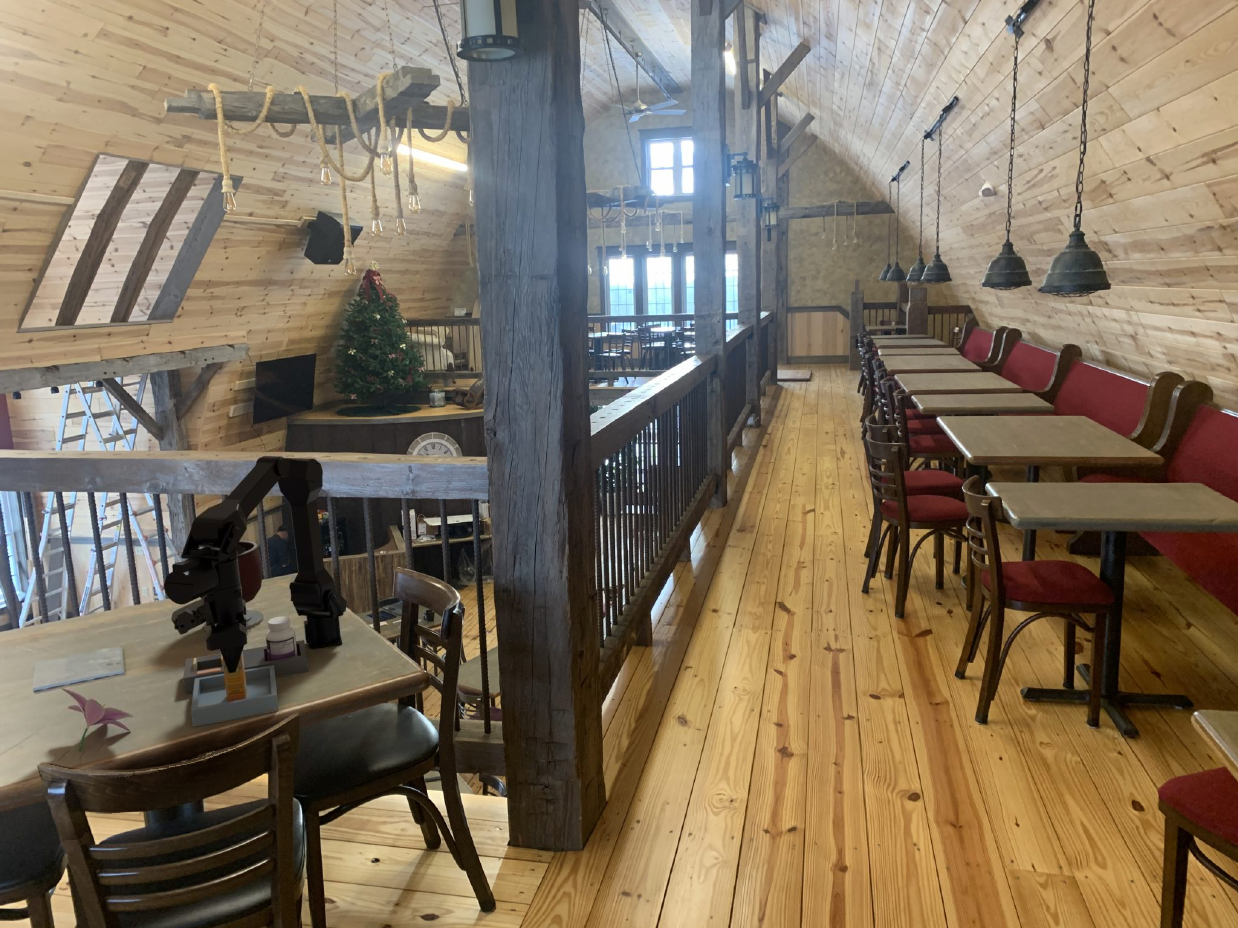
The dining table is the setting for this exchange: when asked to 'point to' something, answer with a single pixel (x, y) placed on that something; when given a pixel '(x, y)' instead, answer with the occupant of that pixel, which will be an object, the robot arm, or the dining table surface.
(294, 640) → the pill bottle
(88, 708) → the lily
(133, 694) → the dining table surface
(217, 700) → the tray
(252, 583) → the mate gourd
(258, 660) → the block
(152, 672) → the dining table surface
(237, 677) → the supplement box
